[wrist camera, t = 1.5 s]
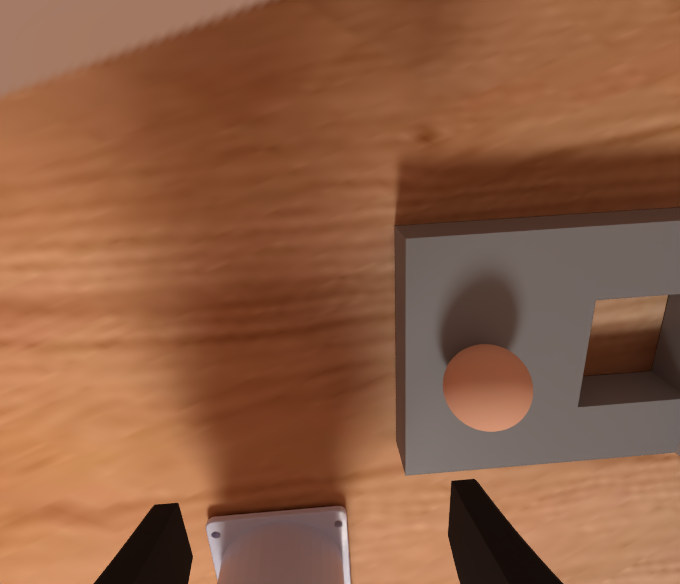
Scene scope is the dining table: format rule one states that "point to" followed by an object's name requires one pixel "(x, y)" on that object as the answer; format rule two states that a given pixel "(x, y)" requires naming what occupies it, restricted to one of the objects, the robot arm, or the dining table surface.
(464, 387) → the ball
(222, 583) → the robot arm
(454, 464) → the hole deck
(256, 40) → the dining table surface
